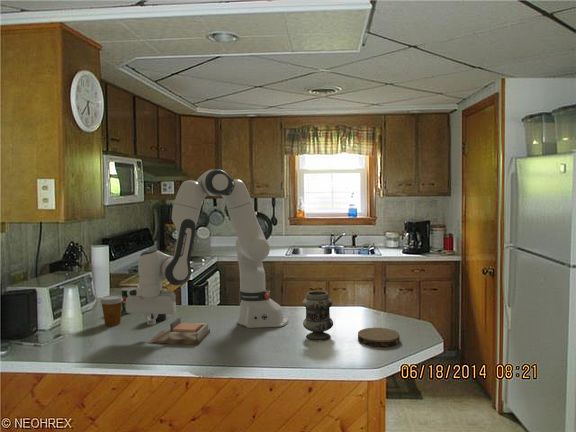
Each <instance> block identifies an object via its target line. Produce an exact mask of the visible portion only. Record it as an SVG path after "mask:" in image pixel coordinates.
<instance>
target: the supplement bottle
mask: <svg viewBox="0 0 576 432" xmlns="http://www.w3.org/2000/svg"><path fill="white" fill-rule="evenodd" d="M153 318H154V316H153V314H150V319H153ZM165 320H167V314H158V316H157V318H156V322H162V321H165Z"/></svg>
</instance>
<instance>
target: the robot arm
mask: <svg viewBox="0 0 576 432" xmlns="http://www.w3.org/2000/svg"><path fill="white" fill-rule="evenodd" d="M217 196H221V197H222V198H223V201H224V203H225V205H226V209H227V213H228V216H229V219H230V222H231V225H232V227H233V229H234V232H235V234H236V236H237V239H236V241H235V248H236V249H235V250H236V254H237V263H238V270H239V284H240V285H239V287H240V288H239V292H238V294H239V295H238V299H239V300H238V301H239V312H238V318H237V324H239V325H241V326H244V327H245V328H247V329H250V328H277V327H278V328H279V327H284V326H286V325H287V324H288V322H289V318H288V316H286V315H284V312H283V309H282V306H281V305H280V304H279V303H277V302H276V301H274V300H273V299H271V290H267V289H266V271H265V268H264V264H263V260H265V259H267V257H268V256H269V254H270V245H269V243H268V241H267V239H266V237H265V234H264V231H263V229H262V228H261V225H260V222H259V221H258V218H257V215H256V211H255V208H254V204H253V201H252V198H251V195H250V192H249V191H248V188H247V186H246V184H245V183H244V181H242V180H241V179H233V178H232V177H231V176H230V175H229V174H228V173H227V172H226V171H225V170H222V169H217V168H216V169H208V170H207V171H204V172H202V173H201V174H199V176H198V177H197V178H196V179H195V180H193V179H190V180H189V179H188V180H185V181H183V182H182V183H181V184H180V186H179V188H178V191H177V193H176V197H175V200H174V202H173V206H172V212H171V221H172V222H173V224H174V227H175V229H176V232H177V239H176V244H175V248H174V249H175V250H174V254H173V255H170V254H166V253H164V252H162V251H160V250H159V249H156V248H155V249H148V250H144V251H143V252H141V253H140V254H139V257H138V262H137V263H138V265H137V266H138V267H137V269H138V271H137V272H138V276H139V281H138V285H137V286H134V287H135V288H132V289H130V290H128V291H127V295H128V297H127V298H126V312H127V314H143V317H144V318H145V320H146V324H147V325H156V323H157V321H156V318H157V316H158V314H166V315H173V314H175V312H176V311H177V304H176V300H177V299H176V293H175V292H173V291H172V290H164V289H162V286H163V285H162V284H163V283H162V281H163V280H167V282H168V283H169V284H171V285H173V286H182V285H185V284H187V282H188V281H189V280H190V279H191V276H192V265H191V257H192V256H191V255H192V251H193V245H194V241H195V236H196V229H197V226H198V220H199V216H200V214H201V210H202V203H203V202H204V200H205V198H206V197H217ZM151 314H153V316H154V318H153V319H151Z"/></svg>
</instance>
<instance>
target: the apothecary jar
mask: <svg viewBox="0 0 576 432" xmlns="http://www.w3.org/2000/svg"><path fill="white" fill-rule="evenodd" d="M302 305H303V306H304V307H305V318H304V319H303V321H302V325H303V328H304V329H305V330H307V331H309V333H307V334H306V336H305V339H307V340H308V341H312V342H324V341H328V340H330V339H331V337H332V336H331V335H330V333H327V331H329V330H330V329H332V328H333V326H334V321H333V319H332V318H331V315H330V313H331V312H330V310H331V309H330V308H331V307H332V306H333V299H332V298H330V296H329V293H328V291H325V290H311V291H308V292H306V297H305V298H304V299H303V300H302Z"/></svg>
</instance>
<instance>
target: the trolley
mask: <svg viewBox="0 0 576 432" xmlns="http://www.w3.org/2000/svg"><path fill="white" fill-rule="evenodd" d="M169 324H170V325H169V326H170V329H169V330H170V332H190V333H197V332H198V331H199V330H200V329H201V328H202V324H203V323H201V324H194V323H193V322H187V323H186V322H182V321H181V317H177V319H175V320H173V321H172V322H171V323H169Z"/></svg>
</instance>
